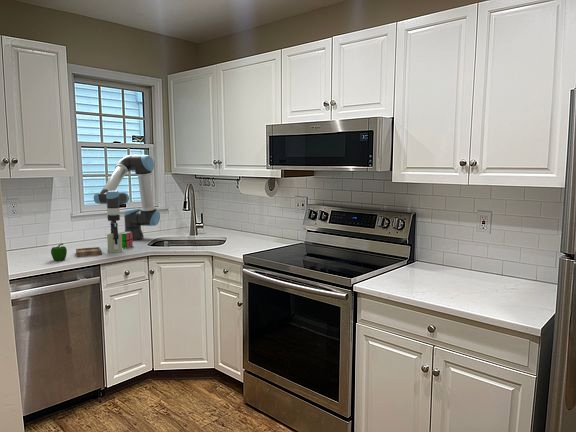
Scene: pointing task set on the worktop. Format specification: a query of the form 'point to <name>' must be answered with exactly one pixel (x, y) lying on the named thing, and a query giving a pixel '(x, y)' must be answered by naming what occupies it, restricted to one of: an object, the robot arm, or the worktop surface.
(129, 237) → the puzzle cube
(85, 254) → the board
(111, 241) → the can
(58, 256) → the bell pepper
